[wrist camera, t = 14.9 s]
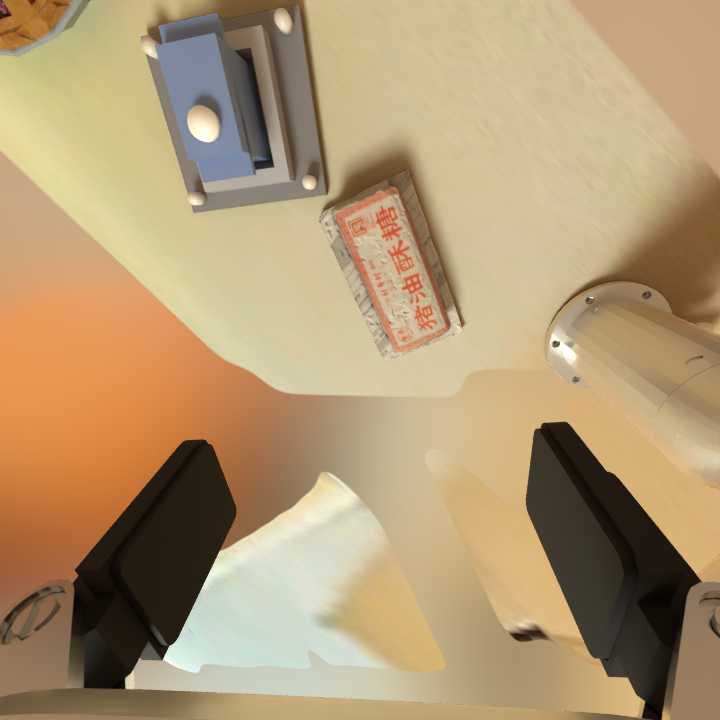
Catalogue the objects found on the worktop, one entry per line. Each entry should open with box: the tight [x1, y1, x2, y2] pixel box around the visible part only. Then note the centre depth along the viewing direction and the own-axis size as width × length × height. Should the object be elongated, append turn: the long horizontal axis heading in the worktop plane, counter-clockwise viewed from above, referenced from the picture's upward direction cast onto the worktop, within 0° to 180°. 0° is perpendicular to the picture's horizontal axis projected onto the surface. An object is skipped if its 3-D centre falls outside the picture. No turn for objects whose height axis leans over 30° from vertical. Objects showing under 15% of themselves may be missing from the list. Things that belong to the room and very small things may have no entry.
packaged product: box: [319, 169, 463, 362], centre depth 36 cm, size 18×5×10 cm
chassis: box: [141, 4, 328, 213], centre depth 31 cm, size 14×14×3 cm
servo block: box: [155, 13, 272, 183], centre depth 28 cm, size 4×10×8 cm, turn 7°
